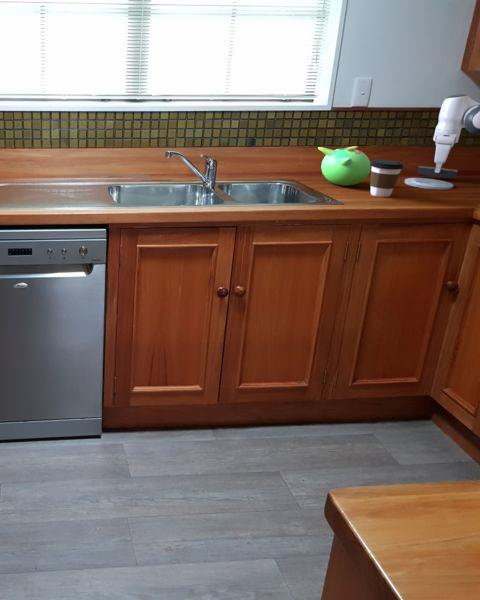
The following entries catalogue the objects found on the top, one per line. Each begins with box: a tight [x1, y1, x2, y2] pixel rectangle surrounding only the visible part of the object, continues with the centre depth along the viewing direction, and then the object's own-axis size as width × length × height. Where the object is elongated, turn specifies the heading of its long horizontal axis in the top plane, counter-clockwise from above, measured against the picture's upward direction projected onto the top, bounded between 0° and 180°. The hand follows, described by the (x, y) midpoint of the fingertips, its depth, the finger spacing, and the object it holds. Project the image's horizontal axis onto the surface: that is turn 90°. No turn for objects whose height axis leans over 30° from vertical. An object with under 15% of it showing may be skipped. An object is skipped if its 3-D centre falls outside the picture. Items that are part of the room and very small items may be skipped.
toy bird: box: [317, 145, 372, 187], centre depth 232 cm, size 18×17×15 cm
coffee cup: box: [369, 158, 405, 198], centre depth 218 cm, size 11×11×12 cm
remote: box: [416, 165, 459, 180], centre depth 248 cm, size 14×4×3 cm, turn 59°
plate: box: [404, 177, 454, 191], centre depth 239 cm, size 17×17×1 cm
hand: (437, 171), depth 248 cm, fingers closed on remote, 4 cm apart
